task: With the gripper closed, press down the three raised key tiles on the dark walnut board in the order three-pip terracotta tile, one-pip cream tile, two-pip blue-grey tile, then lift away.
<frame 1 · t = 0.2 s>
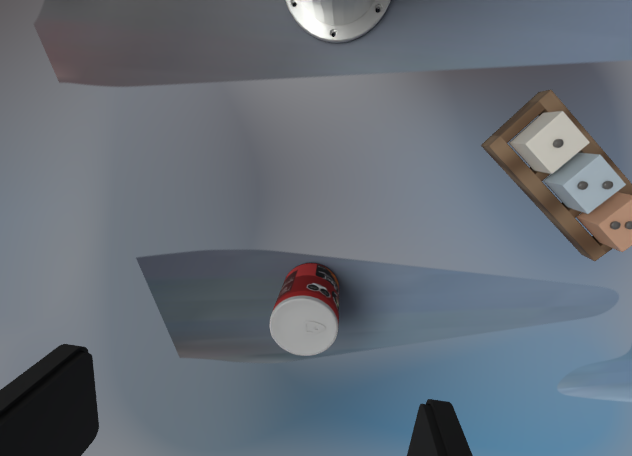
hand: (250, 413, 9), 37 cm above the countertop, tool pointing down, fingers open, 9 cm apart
canned food: (312, 284, 48), on the countertop
tile one pip: (548, 142, 37), point 4 cm above the countertop, slide at 0.0 cm
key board: (561, 178, 41), on the countertop
tile two pip: (583, 182, 38), point 4 cm above the countertop, slide at 0.0 cm
tile three pip: (617, 221, 38), point 4 cm above the countertop, slide at 0.0 cm
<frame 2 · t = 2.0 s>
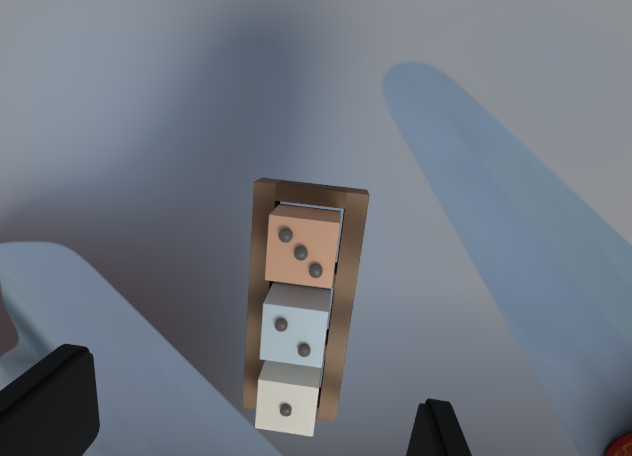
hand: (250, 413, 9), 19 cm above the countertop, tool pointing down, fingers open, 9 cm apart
tile one pip: (289, 392, 27), point 4 cm above the countertop, slide at 0.0 cm
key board: (302, 299, 29), on the countertop
tile two pip: (296, 323, 25), point 4 cm above the countertop, slide at 0.0 cm
tile three pip: (304, 244, 23), point 4 cm above the countertop, slide at 0.0 cm
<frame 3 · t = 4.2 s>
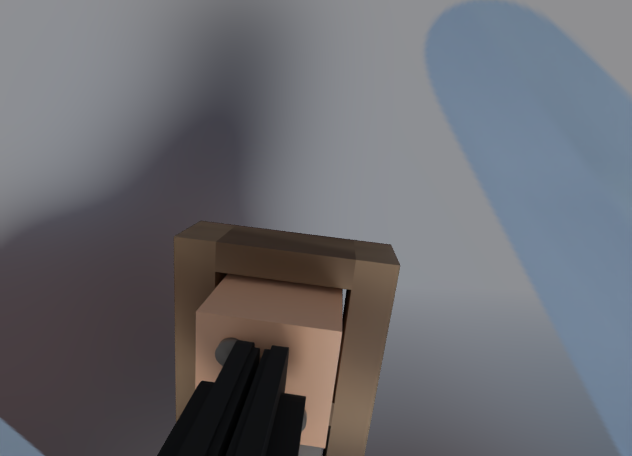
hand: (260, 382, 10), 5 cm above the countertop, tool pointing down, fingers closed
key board: (277, 419, 17), on the countertop
tile three pip: (273, 351, 12), point 3 cm above the countertop, slide at 0.8 cm, touching gripper
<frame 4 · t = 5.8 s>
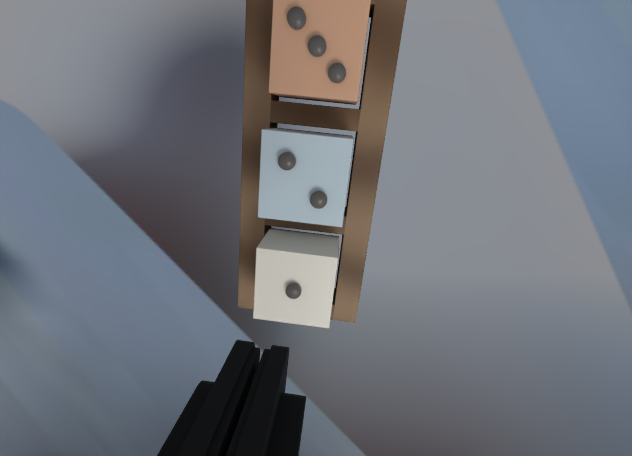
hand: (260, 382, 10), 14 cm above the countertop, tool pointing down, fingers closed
tile one pip: (297, 276, 21), point 4 cm above the countertop, slide at 0.0 cm
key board: (312, 165, 22), on the countertop
tile two pip: (306, 175, 19), point 4 cm above the countertop, slide at 0.0 cm
tile three pip: (319, 53, 18), point 3 cm above the countertop, slide at 1.2 cm
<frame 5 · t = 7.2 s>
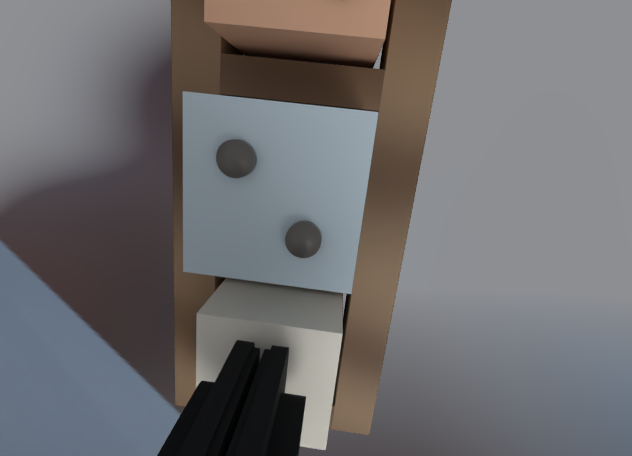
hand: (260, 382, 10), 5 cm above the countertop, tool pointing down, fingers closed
tile one pip: (274, 353, 12), point 3 cm above the countertop, slide at 0.9 cm, touching gripper
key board: (300, 174, 14), on the countertop
tile two pip: (283, 189, 10), point 4 cm above the countertop, slide at 0.0 cm
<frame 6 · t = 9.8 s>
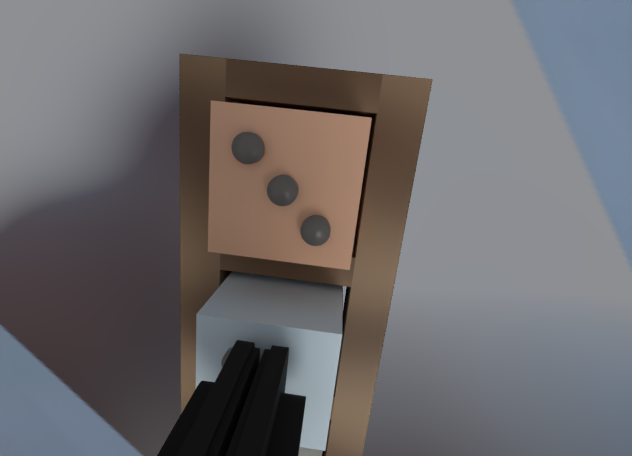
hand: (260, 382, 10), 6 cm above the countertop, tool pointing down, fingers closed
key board: (288, 307, 16), on the countertop
tile two pip: (273, 354, 12), point 4 cm above the countertop, slide at 0.4 cm, touching gripper
tile three pip: (291, 182, 12), point 3 cm above the countertop, slide at 1.2 cm
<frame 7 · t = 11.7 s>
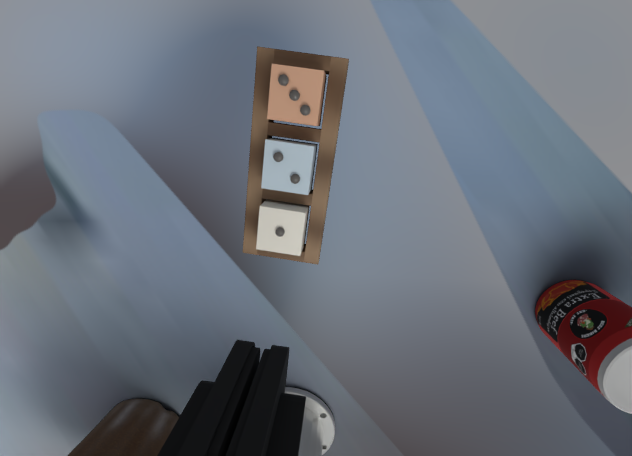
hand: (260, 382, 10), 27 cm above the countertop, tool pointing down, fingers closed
canned food: (567, 307, 38), on the countertop
tile one pip: (283, 226, 35), point 3 cm above the countertop, slide at 1.2 cm
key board: (293, 162, 35), on the countertop
tile two pip: (289, 165, 33), point 3 cm above the countertop, slide at 1.2 cm
tile three pip: (297, 96, 31), point 3 cm above the countertop, slide at 1.2 cm
plant pot: (148, 428, 49), on the countertop
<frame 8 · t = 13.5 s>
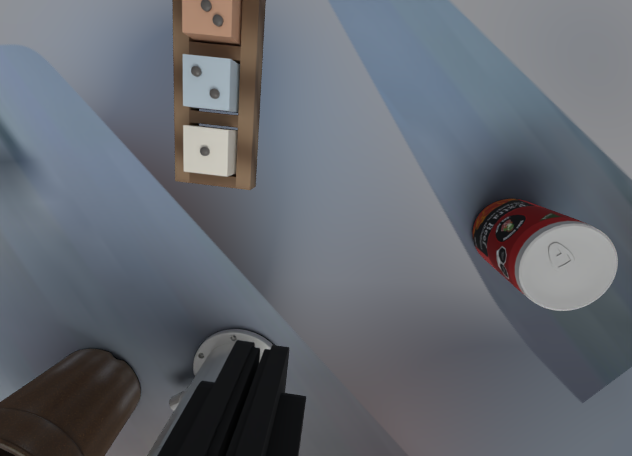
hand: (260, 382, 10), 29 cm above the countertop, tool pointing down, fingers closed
canned food: (504, 230, 38), on the countertop
tile one pip: (211, 150, 35), point 3 cm above the countertop, slide at 1.2 cm
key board: (222, 88, 36), on the countertop
tile two pip: (212, 85, 33), point 3 cm above the countertop, slide at 1.2 cm
tile three pip: (213, 12, 31), point 3 cm above the countertop, slide at 1.2 cm
plant pot: (102, 381, 49), on the countertop
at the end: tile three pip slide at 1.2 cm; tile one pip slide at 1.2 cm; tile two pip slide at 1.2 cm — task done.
